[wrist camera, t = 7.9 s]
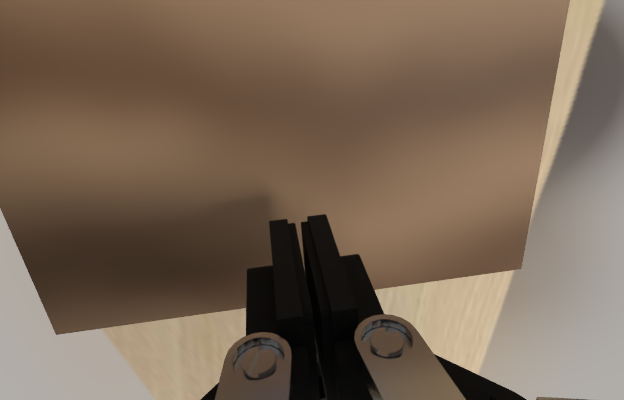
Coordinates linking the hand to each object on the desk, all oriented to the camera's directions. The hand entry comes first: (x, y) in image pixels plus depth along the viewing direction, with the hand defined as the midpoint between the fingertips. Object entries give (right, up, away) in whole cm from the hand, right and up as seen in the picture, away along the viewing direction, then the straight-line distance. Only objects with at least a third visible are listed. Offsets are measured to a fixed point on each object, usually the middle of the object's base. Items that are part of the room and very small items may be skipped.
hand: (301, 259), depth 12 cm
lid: (-1, +6, +2) cm, 6 cm away
